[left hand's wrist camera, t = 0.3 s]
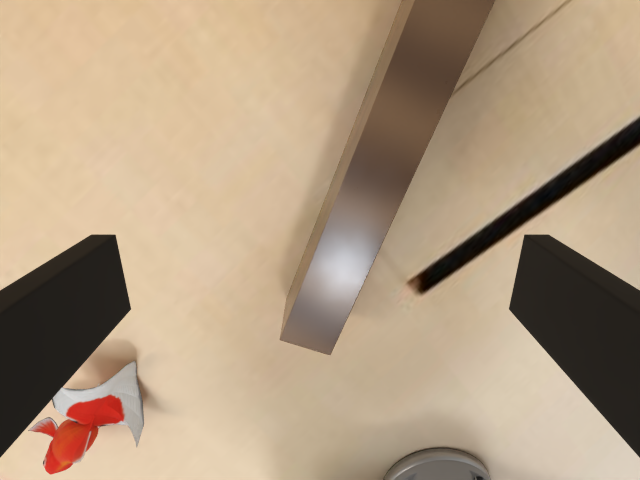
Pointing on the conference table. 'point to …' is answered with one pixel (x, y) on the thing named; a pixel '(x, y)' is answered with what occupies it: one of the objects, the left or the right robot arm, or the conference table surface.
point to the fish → (91, 417)
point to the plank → (379, 162)
